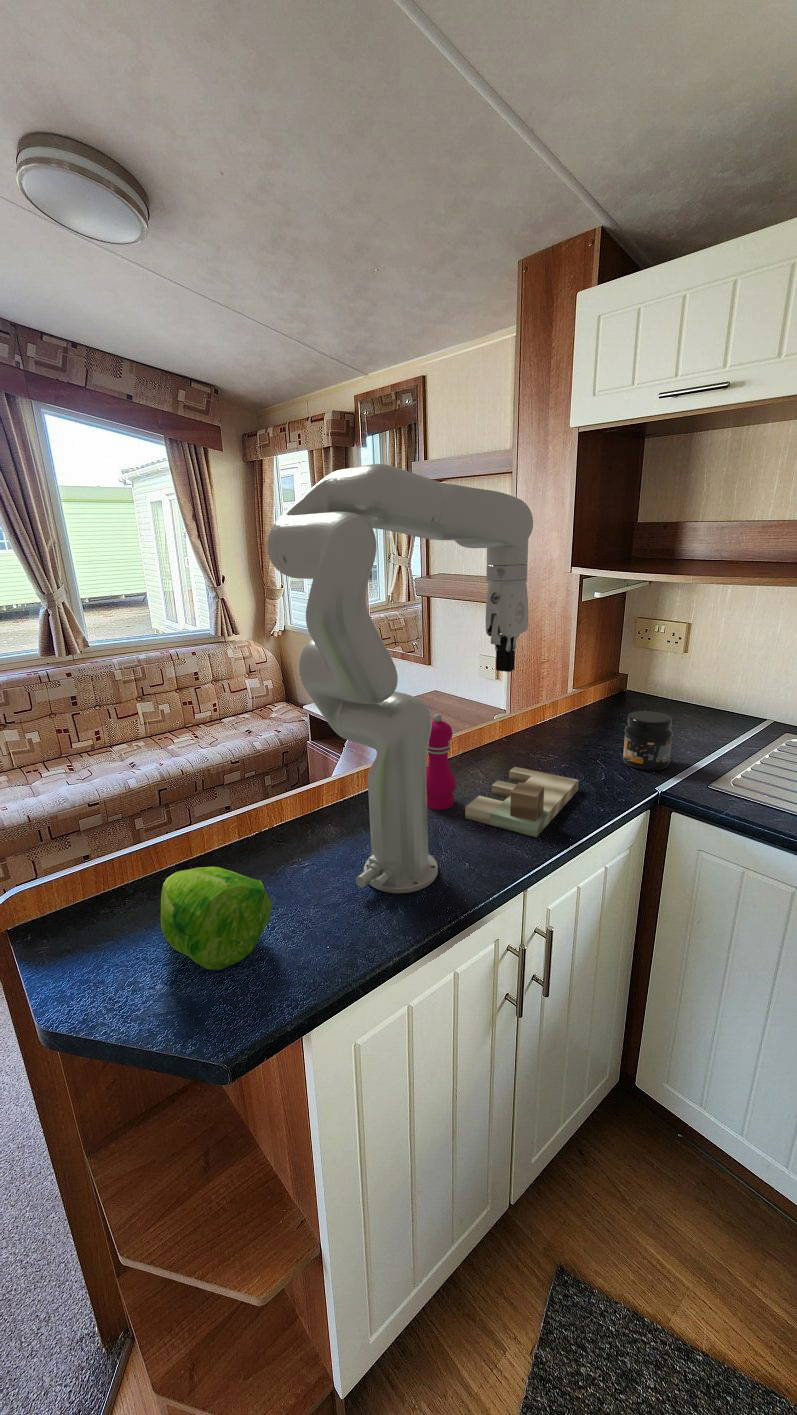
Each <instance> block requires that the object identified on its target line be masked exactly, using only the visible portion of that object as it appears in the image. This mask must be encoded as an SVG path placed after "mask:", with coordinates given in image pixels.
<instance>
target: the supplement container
mask: <svg viewBox="0 0 797 1415" xmlns="http://www.w3.org/2000/svg"><path fill="white" fill-rule="evenodd" d="M672 721H673V720H672V717H671V716H670V715H668V714H665V713H662V712H657V711H648V710H647V711H646V710H640V711H633V712H631V713H629V714H628V715H627V725H626V726H625V727H624V743H623V753H622V754H623V755H622V759H623V762H624V763H625V764H626V765H627V766H629V767H631V768H634V769H636V770H641V771H649V772H654V771H655V772H656V771H661V770H664V769H666V768H667V767H668V766H669V765H670V763H671V762H670V761H671V760H670V757H671V748H672V740H673V739H672V738H673V737H674V736H673V735H674V732H673V730H672V729H671V727H672V723H673V722H672Z"/></svg>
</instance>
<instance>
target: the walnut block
mask: <svg viewBox="0 0 797 1415" xmlns="http://www.w3.org/2000/svg"><path fill="white" fill-rule="evenodd" d="M543 807H544V787H543V786H537V785H532V784H526V783H521V782H519V783H518V784H517V785H516V787H515V788H514V789H513V790H512V791H511V804H510V816H514V817H519V818H523V819H528V820H533V821H536V820H537V819H538V817H539V816H540V814H541V813H542V811H543Z"/></svg>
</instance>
